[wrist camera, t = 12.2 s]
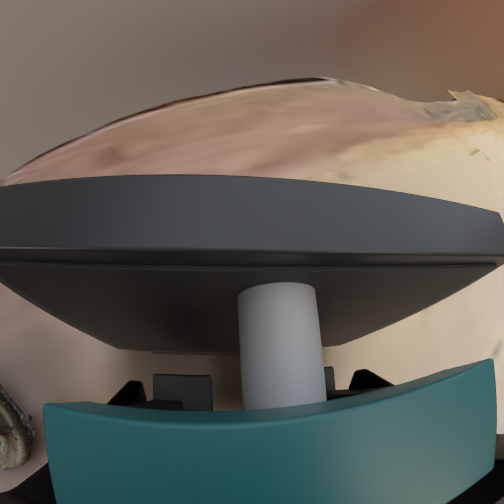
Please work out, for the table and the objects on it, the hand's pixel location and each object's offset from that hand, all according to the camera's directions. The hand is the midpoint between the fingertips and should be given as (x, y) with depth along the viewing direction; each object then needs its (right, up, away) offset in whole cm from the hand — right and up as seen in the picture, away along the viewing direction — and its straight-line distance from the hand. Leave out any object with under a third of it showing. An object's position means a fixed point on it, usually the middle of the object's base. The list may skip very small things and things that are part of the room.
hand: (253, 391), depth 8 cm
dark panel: (-1, -1, +9) cm, 9 cm away
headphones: (-1, -4, +6) cm, 7 cm away
